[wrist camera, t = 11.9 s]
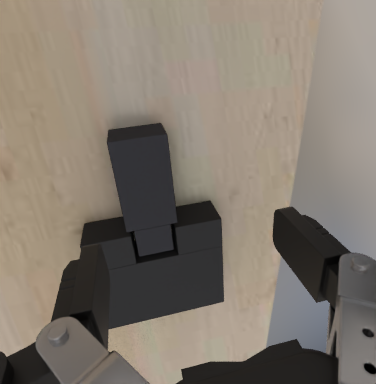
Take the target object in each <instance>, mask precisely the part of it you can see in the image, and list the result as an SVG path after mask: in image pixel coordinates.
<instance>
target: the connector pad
mask: <svg viewBox="0 0 376 384" xmlns="http://www.w3.org/2000/svg"><path fill="white" fill-rule="evenodd" d="M107 145H108V150H109V154H110V159H111V163H112V168H113V172H114V177H115V182H116V186H117V191H118V195H119V200H120V204H121V209H122V214H123V218H124V223H125V227H126V232H131V231H134V234H135V239H136V244H137V248H138V253H139V256H145V255H150V254H154V253H159V252H164V251H169V250H173V249H174V247H173V239H172V231H171V224H173V223H177V214H176V205H175V197H174V188H173V179H172V171H171V162H170V154H169V145H168V137H167V133H166V131H165V130H164V128H163V126H162V124H161V123H157V124H150V125H142V126H135V127H128V128H120V129H113V130H108V138H107Z"/></svg>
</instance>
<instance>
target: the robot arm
mask: <svg viewBox="0 0 376 384" xmlns="http://www.w3.org/2000/svg"><path fill="white" fill-rule="evenodd" d="M273 242H274V245H275V247H276V249H277V251H278V252H279V253H280V255H281V256H282V257H283V259H284V260H285V261H286V263H287V264H288V265H289V267H290V268H291V269H292V271H293V272H294V273H295V274H296V276H297V277H298V279H299V280H300V281H301V282H302V284H303V285H304V287H305V288H306V289H307V291H308V292H309V293H310V294H311V296H312V297H313V298H314V300H315V301H316V303H317V302H321V301H325V300H327V301H328V302H329V303H330V307H329V316H328V332H327V347H326V353H323V352H321V351H317V350H313V349H304V348H302V347H301V346H300V344H299V342H298V341H297V339H295V340H291V341H288V342H284V343H280V344H276V345H272V346H269V347H268V348H266V349H264V350H262V351H261V352H259V353H257V354H256V355H254V356H252V357H251V358H249V359H247V360H246V361H243V362H208V363H204V364H200V365H196V366H192V367H189V368H185V369H181V371H182V377H183V380H181V381H179V382H178V383H176V384H376V261H375V260H374V259H372V258H370V257H368V256H366V255H363V254H360V253H351V252H350V251H349V250H348V249H346V248H345V247H344V246H343V245H342V244H341V243H340V242H339V241H338V240H337V239H336V238H335V237H333V236H332V235H331V234H329V232H328V231H327V230H326V229H325V228H323V226H321V225H320V224H319V223H318V222H317V221H316V220H314V219H312V218H310V217H308V216H306V215H301V214H300V213H299V212H298V211H297V210H296V209H294V208H293V207H287V208H282V209H277V210H275V212H274V224H273ZM109 304H110V275H109V270H108V266H107V263H106V260H105V256H104V253H103V249H102V246H101V244H100V243H99V244H94V245H88V246H83V247H82V248H81V253H80V259H78V260H73V261H70V263H69V264H68V265H67V267H66V268H65V269H64V271H63V275H62V279H61V283H60V287H59V291H58V295H57V299H56V303H55V307H54V311H53V315H52V319H51V322H50V323H49V324H48V325H46V326H45V327H44V328H43V329H42V330H41V332H40V333H39V335H38V337H37V339H36V342H34V343H33V344H31V345H30V346H28V347H26V348H24V349H22V350H20V351H18V352H16V353H14V354H12V355H10V356H8V357H6V356H5V354H4V353H2V352H0V384H149V383H148V382H147V381H146V380H145V379H144V378H143V377H142V376H141V375H140V374H139V373H138V372H137V371H136V370H135V369H134V368H133V367H132V366H131V365H130V364H129V363H128V362H127V361H126V360H125V359H124V358H123V357H122V356H121V355H120V354H119V353H117V352H116V351H112V352H111V353H110V352H109V351H108V328H109Z"/></svg>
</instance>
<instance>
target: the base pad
mask: <svg viewBox="0 0 376 384" xmlns="http://www.w3.org/2000/svg"><path fill="white" fill-rule="evenodd" d="M176 214H177V223H173V224H171V227H172V239H173V247H174V249H173V250H169V251H164V252H159V253H154V254H150V255H145V256H139V253H138V248H137V244H136V241H134V236H133V231H131V232H126V227H125V223H124V218H123V217H119V218H113V219H108V220H103V221H97V222H92V223H86V224H84V228H83V233H82V239H81V244H80V248H82V247H83V246H88V245H94V244H99V243H100V244H101V246H102V249H103V253H104V256H105V260H106V263H107V266H108V270H109V275H110V304H109V328H108V329H112V328H116V327H120V326H125V325H129V324H133V323H137V322H141V321H145V320H150V319H154V318H158V317H162V316H166V315H170V314H174V313H179V312H183V311H187V310H191V309H195V308H199V307H204V306H208V305H212V304H216V303H220V302H224V287H223V256H222V224H221V218H220V216H219V214H218V213H217V211H216V209H215V208H214V206H213V204H212V203H211V201H206V202H200V203H195V204H189V205H184V206H178V207H176Z"/></svg>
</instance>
